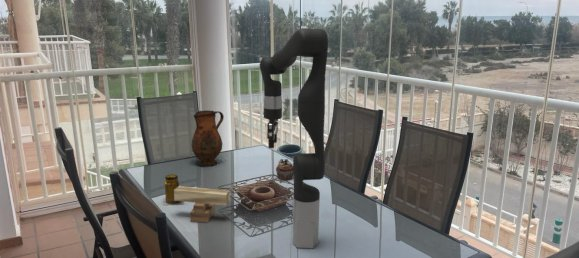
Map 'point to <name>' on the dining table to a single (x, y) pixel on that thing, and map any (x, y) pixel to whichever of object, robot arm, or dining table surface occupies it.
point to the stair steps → (201, 212)
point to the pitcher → (207, 138)
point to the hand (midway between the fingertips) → (272, 145)
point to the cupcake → (284, 170)
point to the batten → (202, 195)
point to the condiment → (171, 189)
